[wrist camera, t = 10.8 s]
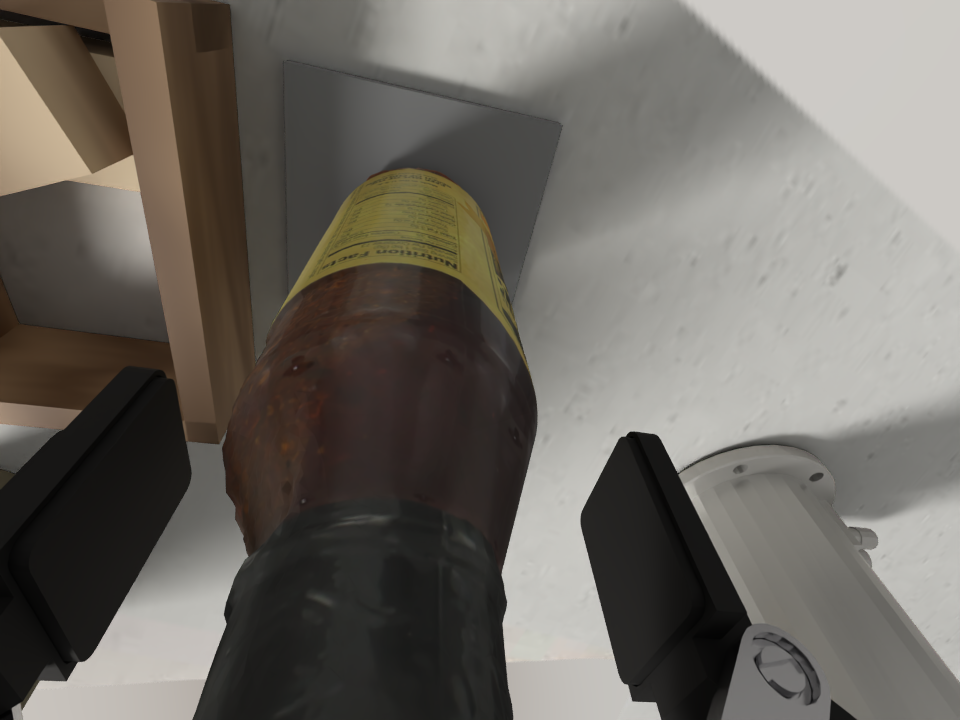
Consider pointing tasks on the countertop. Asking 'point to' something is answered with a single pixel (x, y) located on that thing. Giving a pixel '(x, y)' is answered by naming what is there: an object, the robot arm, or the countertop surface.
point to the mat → (407, 156)
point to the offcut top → (54, 110)
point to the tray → (158, 224)
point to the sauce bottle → (379, 473)
